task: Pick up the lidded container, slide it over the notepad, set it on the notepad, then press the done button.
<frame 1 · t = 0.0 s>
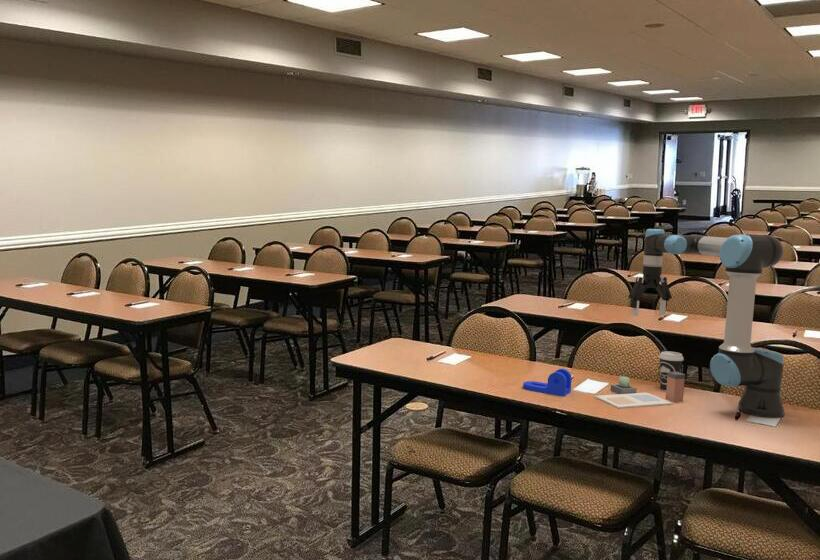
hand: (648, 315, 293), 28 cm above the table, fingers open, 13 cm apart
button housing: (623, 392, 275), on the table
done button: (623, 382, 274), point 4 cm above the table, slide at 0.0 cm
bracket: (545, 391, 273), on the table
coffee cup: (668, 390, 282), on the table
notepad: (633, 400, 263), on the table
lidded container: (674, 400, 266), on the table
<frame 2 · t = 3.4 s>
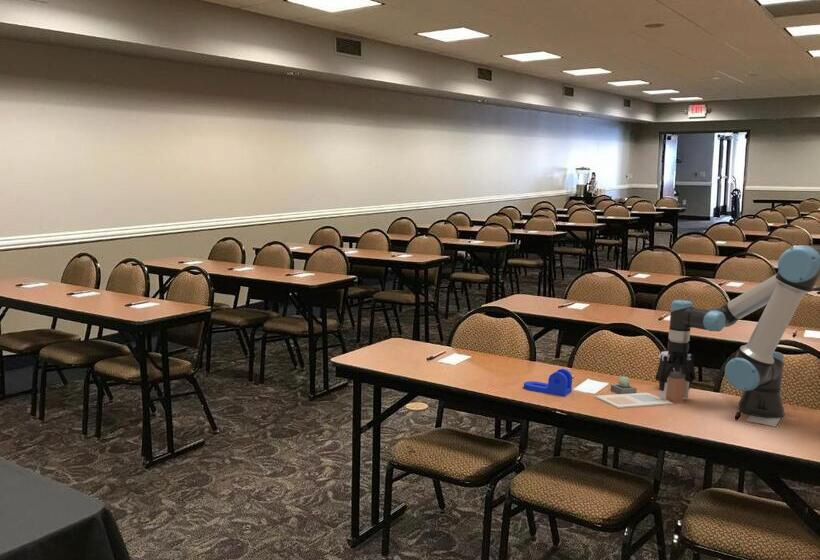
hand: (673, 398, 266), 1 cm above the table, fingers open, 10 cm apart
nothing on the table moved.
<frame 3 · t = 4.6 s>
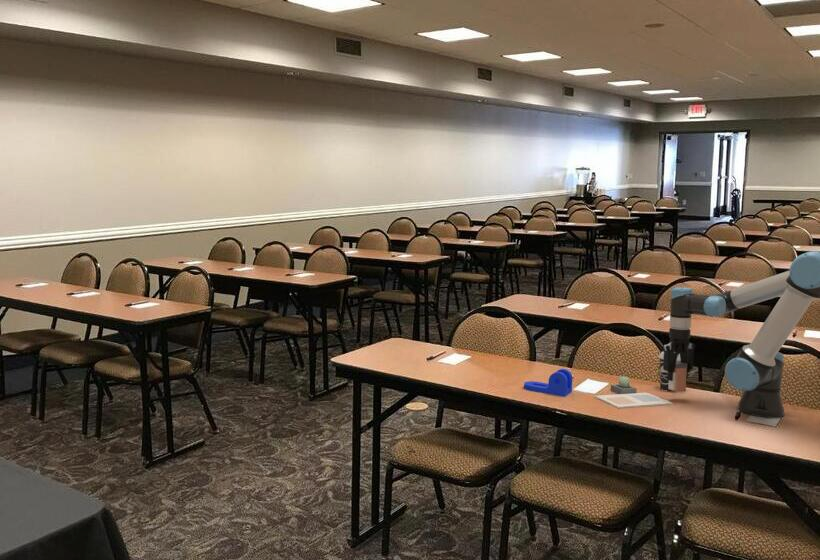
hand: (677, 388, 265), 5 cm above the table, fingers closed on lidded container, 4 cm apart
lidded container: (676, 390, 265), point 4 cm above the table, touching gripper
everything else where it was.
when the fingers open (1 cm above the table, at t = 9.5 s): lidded container stays where it is, resting on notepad.
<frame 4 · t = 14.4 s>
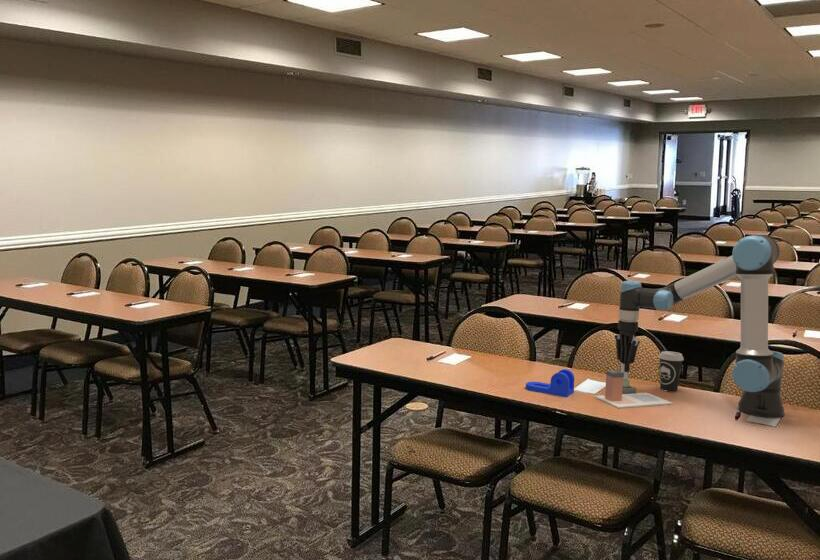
hand: (623, 379, 274), 5 cm above the table, fingers closed
done button: (623, 384, 274), point 3 cm above the table, slide at 0.9 cm, touching gripper
lidded container: (613, 399, 261), point 1 cm above the table, touching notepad
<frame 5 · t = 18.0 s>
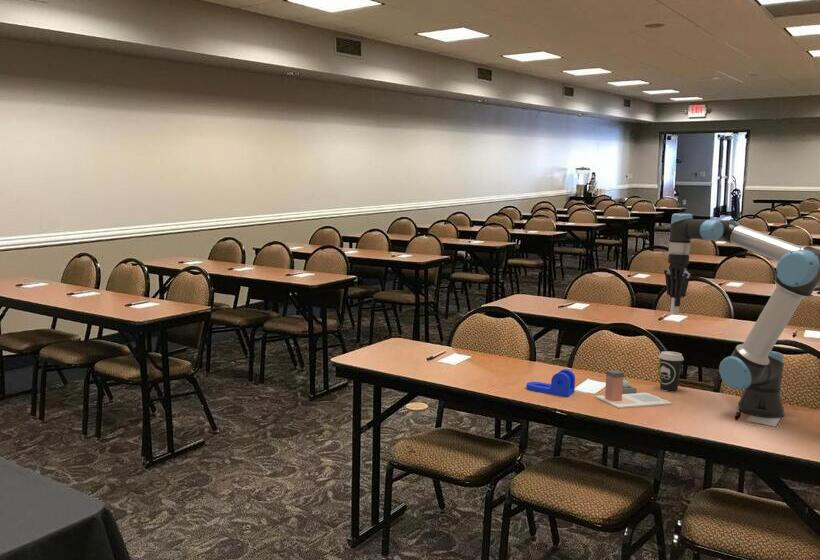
hand: (674, 314, 269), 32 cm above the table, fingers closed
done button: (623, 385, 274), point 3 cm above the table, slide at 1.3 cm
at the end: lidded container inside the target area (2.8 cm from its centre), point 0.7 cm above the table; lidded container tilted 0°; done button slide at 1.3 cm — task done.
